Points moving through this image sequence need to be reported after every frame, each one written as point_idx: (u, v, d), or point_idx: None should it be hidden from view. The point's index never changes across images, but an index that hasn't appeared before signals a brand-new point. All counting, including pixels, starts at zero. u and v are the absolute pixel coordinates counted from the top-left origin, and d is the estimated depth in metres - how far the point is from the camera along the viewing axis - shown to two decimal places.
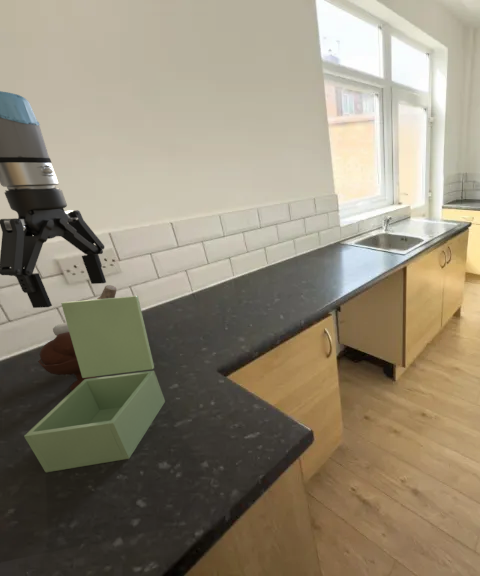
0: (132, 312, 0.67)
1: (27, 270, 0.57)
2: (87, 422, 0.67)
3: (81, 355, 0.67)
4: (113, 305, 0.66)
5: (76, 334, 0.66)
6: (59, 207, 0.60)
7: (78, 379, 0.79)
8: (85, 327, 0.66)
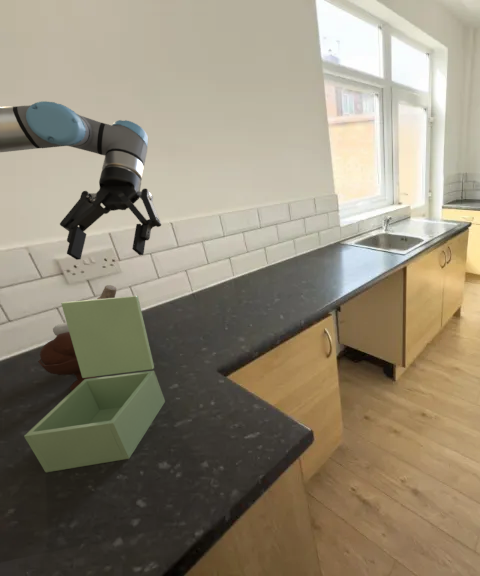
0: (132, 312, 0.67)
1: None
2: (87, 422, 0.67)
3: (81, 355, 0.67)
4: (113, 305, 0.66)
5: (76, 334, 0.66)
6: None
7: (78, 379, 0.79)
8: (85, 327, 0.66)
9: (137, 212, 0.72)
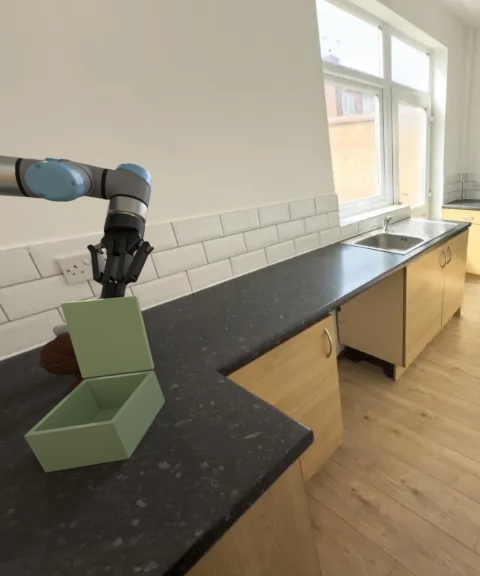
0: (132, 312, 0.67)
1: None
2: (87, 422, 0.67)
3: (81, 355, 0.67)
4: (113, 306, 0.66)
5: (76, 334, 0.66)
6: None
7: (78, 379, 0.79)
8: (85, 327, 0.66)
9: (121, 266, 0.71)
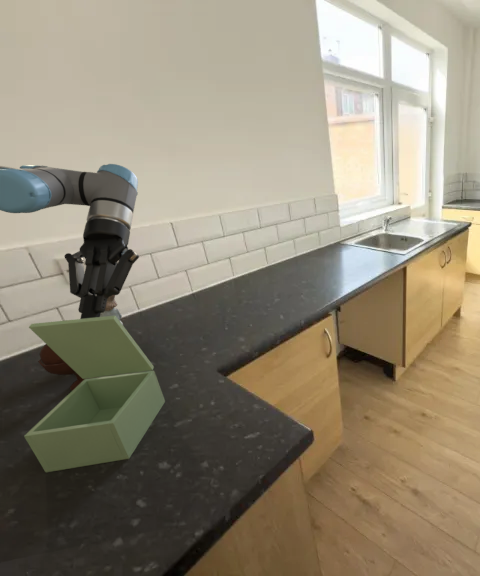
0: (115, 331, 0.61)
1: None
2: (87, 422, 0.67)
3: (73, 364, 0.65)
4: (91, 327, 0.59)
5: (60, 350, 0.62)
6: None
7: (78, 379, 0.79)
8: (67, 344, 0.61)
9: (102, 278, 0.65)
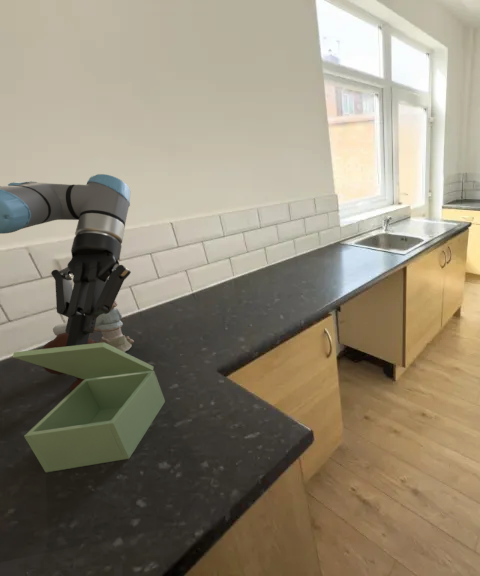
0: (107, 353, 0.58)
1: None
2: (87, 422, 0.67)
3: (70, 372, 0.64)
4: (80, 353, 0.56)
5: (52, 366, 0.60)
6: None
7: (78, 379, 0.79)
8: (58, 363, 0.59)
9: (90, 296, 0.61)
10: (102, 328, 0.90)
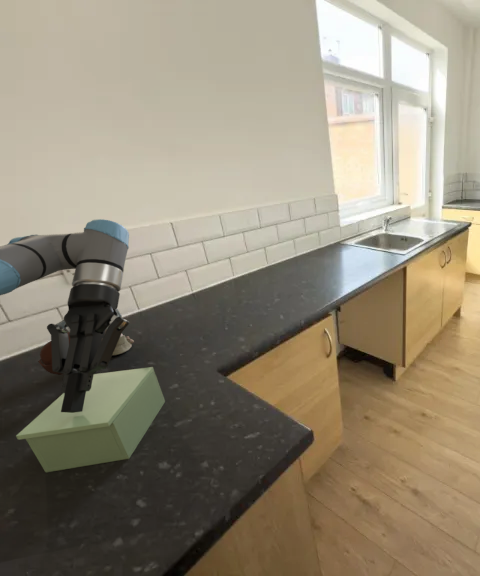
0: None
1: None
2: None
3: None
4: None
5: None
6: None
7: None
8: None
9: (87, 352, 0.59)
10: None
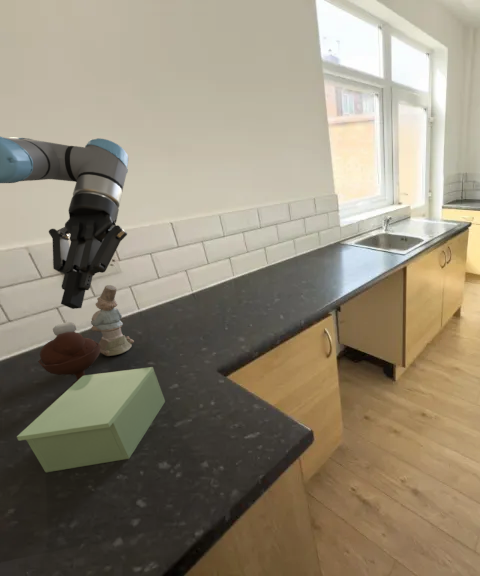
0: None
1: None
2: None
3: None
4: None
5: None
6: None
7: (78, 379, 0.79)
8: None
9: (87, 254, 0.62)
10: (102, 328, 0.90)
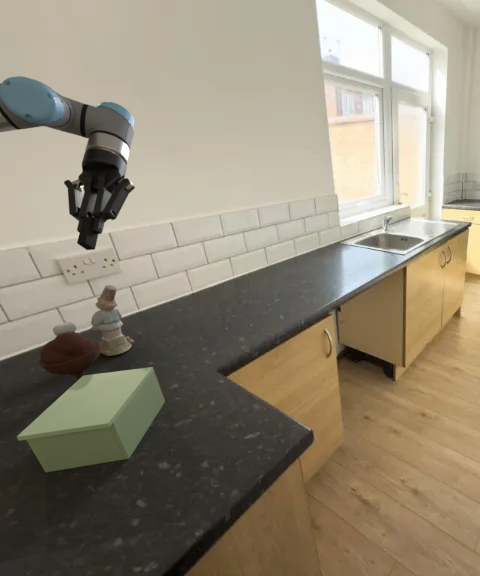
0: None
1: None
2: None
3: None
4: None
5: None
6: None
7: (78, 379, 0.79)
8: None
9: (99, 202, 0.68)
10: (102, 328, 0.90)
